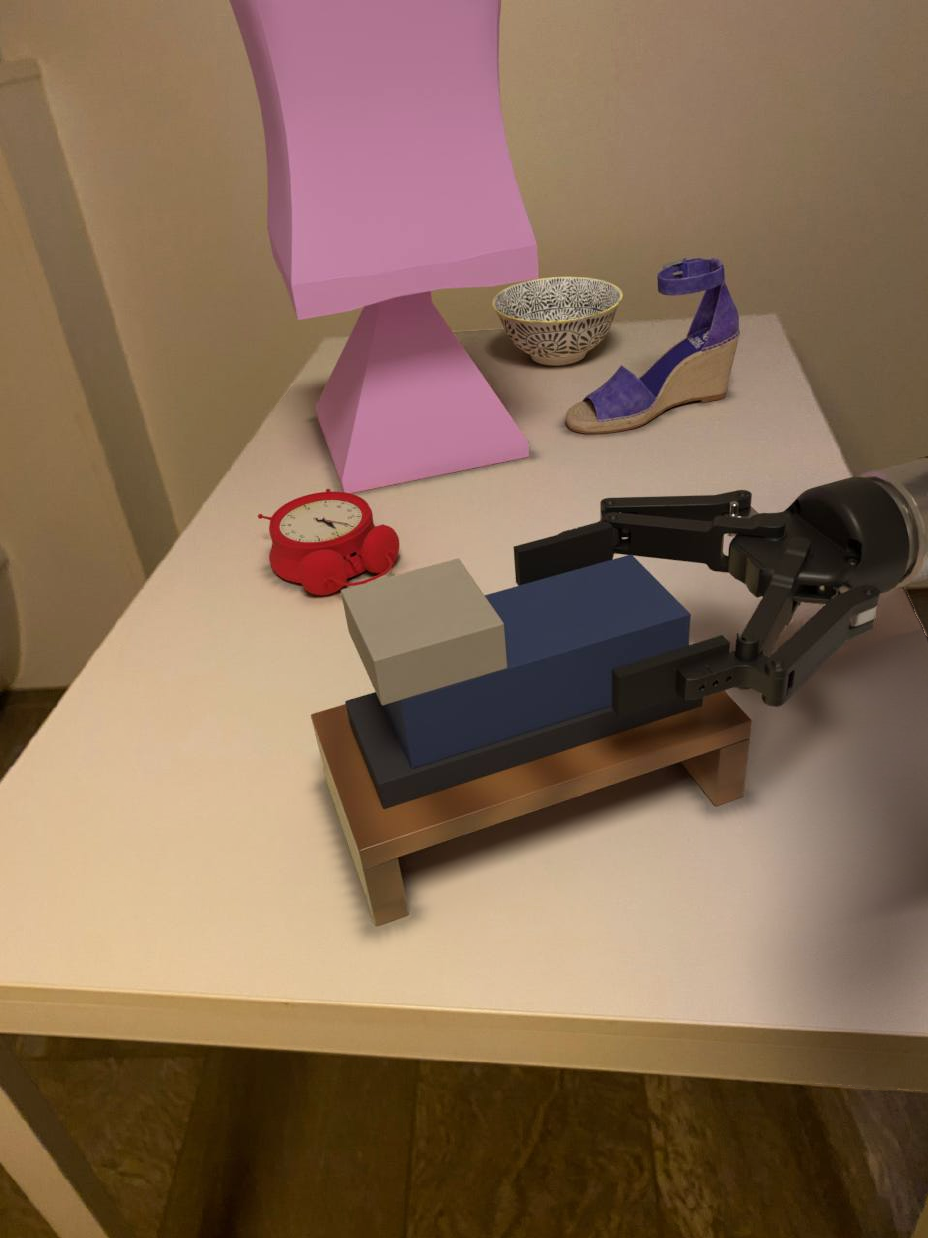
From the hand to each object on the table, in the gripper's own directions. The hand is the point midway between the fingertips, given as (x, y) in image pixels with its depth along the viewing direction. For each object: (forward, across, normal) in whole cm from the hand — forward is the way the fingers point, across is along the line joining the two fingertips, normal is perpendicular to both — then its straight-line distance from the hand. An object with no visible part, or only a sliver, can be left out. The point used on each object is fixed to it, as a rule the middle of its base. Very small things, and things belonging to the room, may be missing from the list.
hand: (560, 624), depth 55 cm
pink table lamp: (-7, +54, -13) cm, 56 cm away
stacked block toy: (+3, 0, -6) cm, 7 cm away
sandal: (-32, +47, -13) cm, 58 cm away
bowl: (-30, +68, -13) cm, 75 cm away
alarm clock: (+7, +33, -13) cm, 36 cm away
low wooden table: (+3, 0, -13) cm, 13 cm away
